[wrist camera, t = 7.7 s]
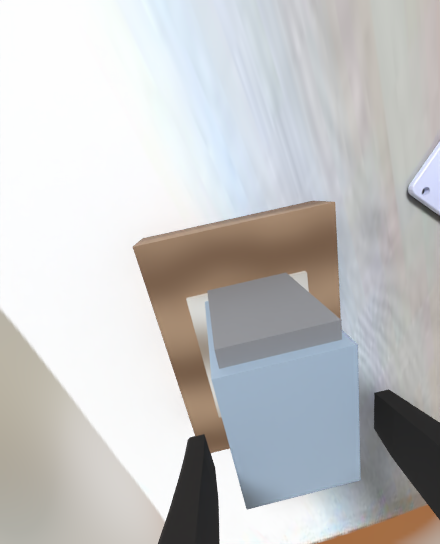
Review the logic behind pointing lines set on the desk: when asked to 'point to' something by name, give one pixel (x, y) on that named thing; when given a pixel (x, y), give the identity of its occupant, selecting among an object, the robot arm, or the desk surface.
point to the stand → (228, 271)
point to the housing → (284, 388)
